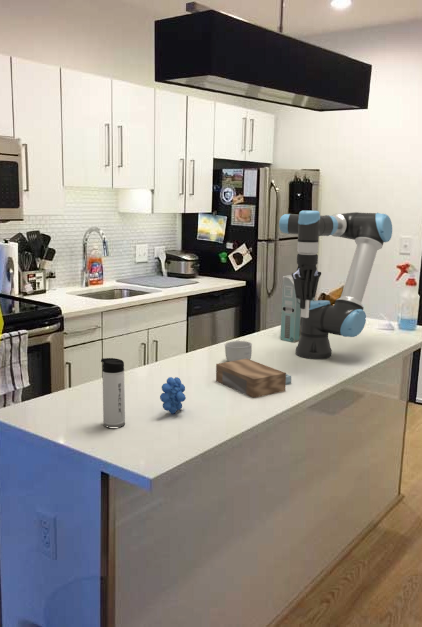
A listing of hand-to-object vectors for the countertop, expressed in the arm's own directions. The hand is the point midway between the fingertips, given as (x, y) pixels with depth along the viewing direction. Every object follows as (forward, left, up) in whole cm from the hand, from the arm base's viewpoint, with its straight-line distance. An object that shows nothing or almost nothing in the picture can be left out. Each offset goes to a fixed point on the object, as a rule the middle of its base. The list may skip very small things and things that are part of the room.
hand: (304, 317), depth 231 cm
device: (-39, -46, -23) cm, 64 cm away
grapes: (+62, +10, -23) cm, 67 cm away
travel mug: (+82, +8, -23) cm, 85 cm away
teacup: (+9, -28, -23) cm, 37 cm away
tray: (+21, 0, -22) cm, 31 cm away
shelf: (+25, 0, -22) cm, 34 cm away
